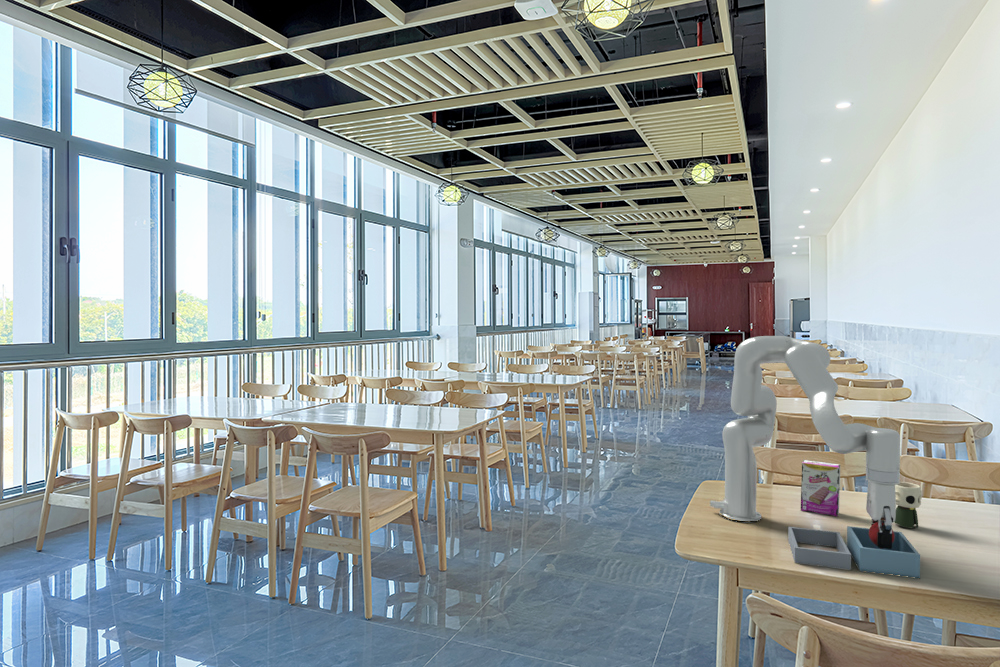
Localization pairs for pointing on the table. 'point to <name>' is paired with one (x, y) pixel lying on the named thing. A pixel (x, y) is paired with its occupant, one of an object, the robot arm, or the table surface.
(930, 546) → the table surface
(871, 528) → the onion
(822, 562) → the grey crate
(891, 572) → the blue bin
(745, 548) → the table surface
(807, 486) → the candy bar box
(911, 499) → the character mug
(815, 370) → the robot arm
